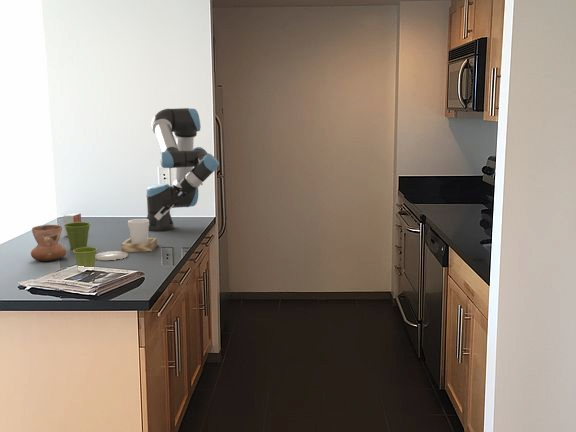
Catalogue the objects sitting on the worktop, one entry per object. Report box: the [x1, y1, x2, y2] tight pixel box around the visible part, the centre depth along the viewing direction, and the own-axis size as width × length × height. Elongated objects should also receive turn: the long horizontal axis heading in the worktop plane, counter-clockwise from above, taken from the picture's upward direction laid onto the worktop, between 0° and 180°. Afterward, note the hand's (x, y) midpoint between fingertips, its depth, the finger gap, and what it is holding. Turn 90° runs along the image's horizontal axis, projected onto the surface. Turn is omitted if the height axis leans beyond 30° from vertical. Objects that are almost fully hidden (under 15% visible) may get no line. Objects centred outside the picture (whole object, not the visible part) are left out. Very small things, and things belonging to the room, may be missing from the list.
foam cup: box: [127, 218, 150, 244], centre depth 308 cm, size 10×9×13 cm
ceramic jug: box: [30, 224, 67, 262], centre depth 290 cm, size 18×14×14 cm
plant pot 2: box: [72, 246, 98, 268], centre depth 270 cm, size 9×9×9 cm
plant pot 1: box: [63, 221, 91, 250], centre depth 311 cm, size 12×12×11 cm
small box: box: [62, 212, 82, 237], centre depth 342 cm, size 8×6×10 cm
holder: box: [120, 237, 158, 253], centre depth 309 cm, size 13×13×4 cm
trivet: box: [95, 250, 129, 261], centre depth 293 cm, size 14×14×1 cm
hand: (159, 215), depth 306 cm, fingers open, 13 cm apart
